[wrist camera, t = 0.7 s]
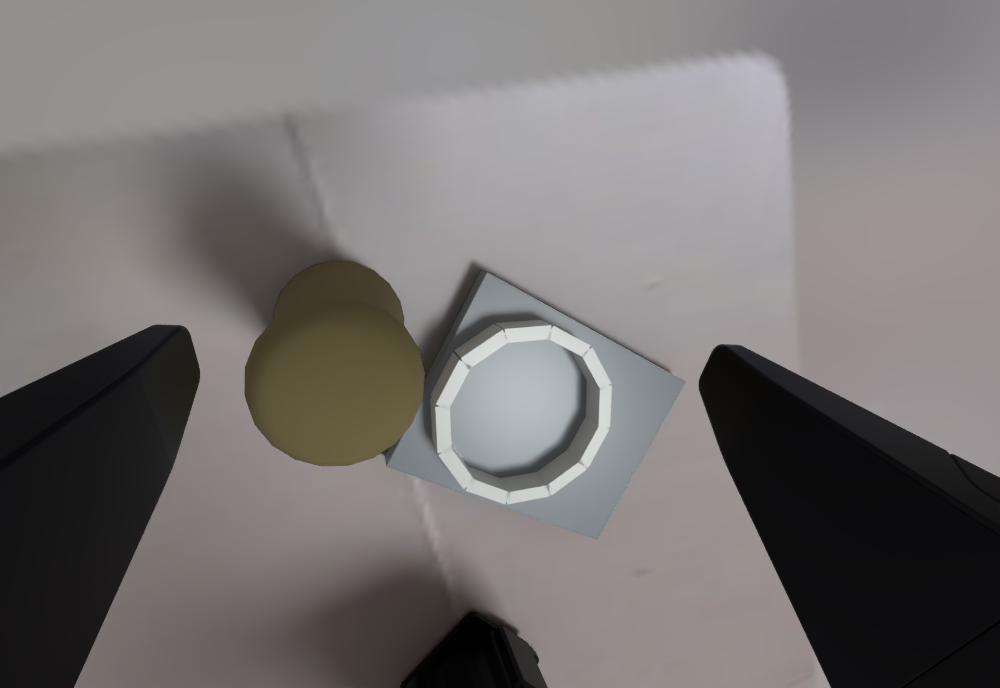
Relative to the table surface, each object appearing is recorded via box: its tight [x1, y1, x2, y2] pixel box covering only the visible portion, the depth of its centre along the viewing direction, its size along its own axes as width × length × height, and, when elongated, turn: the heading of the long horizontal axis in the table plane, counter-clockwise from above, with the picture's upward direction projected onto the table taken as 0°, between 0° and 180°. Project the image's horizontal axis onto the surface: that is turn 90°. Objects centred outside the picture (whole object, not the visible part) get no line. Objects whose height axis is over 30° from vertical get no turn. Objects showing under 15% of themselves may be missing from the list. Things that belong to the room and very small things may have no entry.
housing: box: [385, 270, 686, 539], centre depth 27 cm, size 14×11×3 cm
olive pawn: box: [245, 261, 425, 466], centre depth 18 cm, size 6×6×11 cm
